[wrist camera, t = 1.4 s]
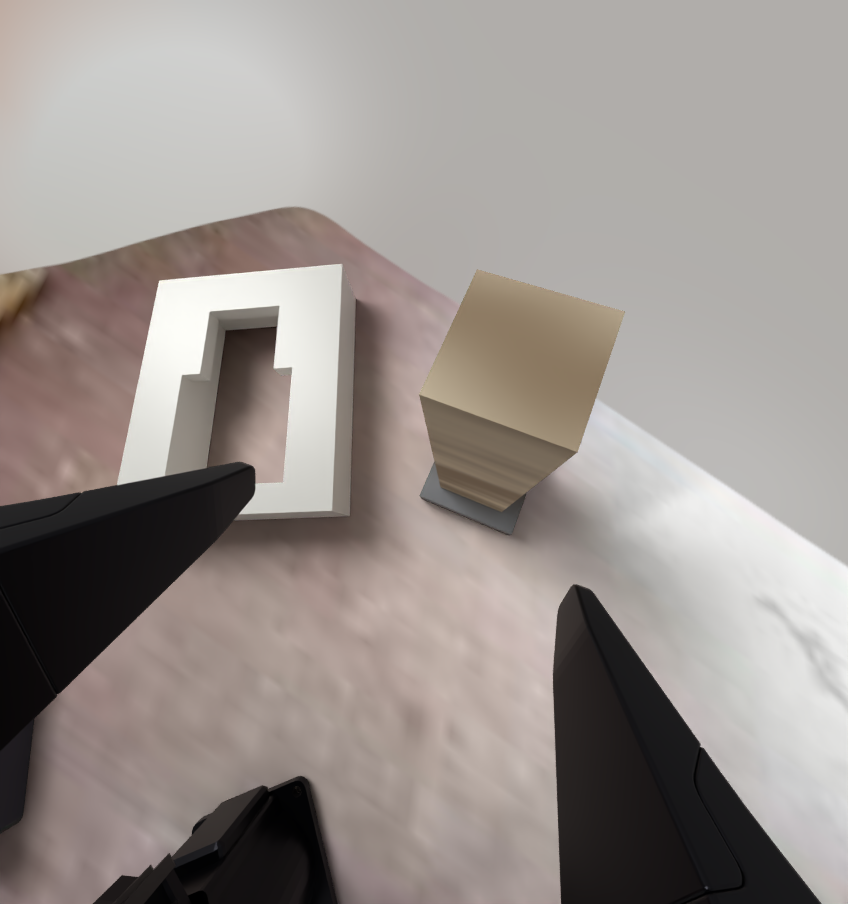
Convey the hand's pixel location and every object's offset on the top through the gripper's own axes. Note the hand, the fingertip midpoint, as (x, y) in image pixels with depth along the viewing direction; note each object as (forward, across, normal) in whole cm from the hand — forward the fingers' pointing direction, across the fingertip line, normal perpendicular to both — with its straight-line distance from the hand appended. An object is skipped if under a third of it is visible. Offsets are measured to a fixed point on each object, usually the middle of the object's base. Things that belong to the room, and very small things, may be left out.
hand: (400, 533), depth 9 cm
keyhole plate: (+14, +15, +5) cm, 21 cm away
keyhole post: (+14, -2, +5) cm, 15 cm away
